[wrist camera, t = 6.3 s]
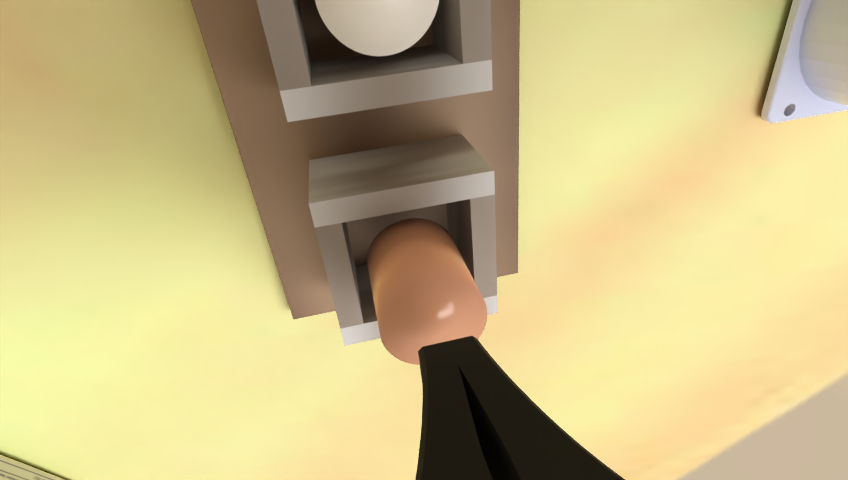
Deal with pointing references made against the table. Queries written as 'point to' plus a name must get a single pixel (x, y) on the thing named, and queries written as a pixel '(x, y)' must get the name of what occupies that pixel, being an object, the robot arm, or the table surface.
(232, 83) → the board
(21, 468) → the skincare box
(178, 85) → the table surface
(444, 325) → the terracotta plug
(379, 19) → the plug
